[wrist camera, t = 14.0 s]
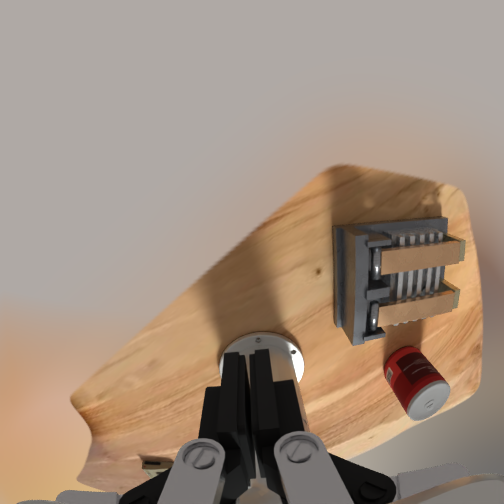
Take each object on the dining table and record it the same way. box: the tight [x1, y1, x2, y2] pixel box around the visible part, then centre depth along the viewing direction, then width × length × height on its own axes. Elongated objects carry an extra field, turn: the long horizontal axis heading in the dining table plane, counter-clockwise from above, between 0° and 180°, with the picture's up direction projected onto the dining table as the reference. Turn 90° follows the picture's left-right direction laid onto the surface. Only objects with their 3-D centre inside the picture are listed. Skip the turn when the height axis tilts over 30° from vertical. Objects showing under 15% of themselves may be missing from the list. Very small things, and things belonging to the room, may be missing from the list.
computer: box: [142, 461, 174, 479], centre depth 50 cm, size 16×8×3 cm, turn 11°
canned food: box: [384, 346, 450, 421], centre depth 38 cm, size 8×8×11 cm
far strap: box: [368, 290, 455, 332], centre depth 33 cm, size 4×13×1 cm, turn 96°
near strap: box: [371, 241, 460, 280], centre depth 31 cm, size 4×13×1 cm, turn 96°
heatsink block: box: [332, 216, 466, 346], centre depth 35 cm, size 14×18×7 cm
